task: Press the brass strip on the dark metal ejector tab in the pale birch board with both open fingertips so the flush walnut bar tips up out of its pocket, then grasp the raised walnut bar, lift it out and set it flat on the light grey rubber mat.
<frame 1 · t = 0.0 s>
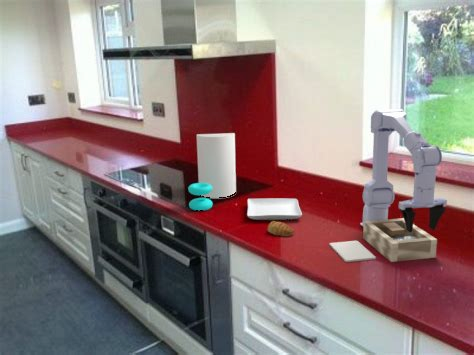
hand: (420, 229, 144), 10 cm above the worktop, tool pointing down, fingers open, 7 cm apart
cylinder: (217, 193, 222), on the worktop
pastry: (280, 233, 172), on the worktop
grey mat: (351, 251, 154), on the worktop
ejector tab: (398, 236, 156), point 4 cm above the worktop, hinge at 0.0°, touching walnut bar
pocket board: (398, 248, 156), on the worktop
salad plate: (273, 214, 193), on the worktop
donuts: (201, 208, 201), on the worktop
walnut bar: (392, 232, 159), point 4 cm above the worktop, touching ejector tab
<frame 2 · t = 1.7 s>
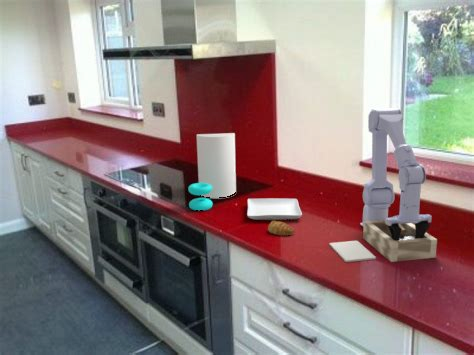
hand: (406, 244, 150), 3 cm above the worktop, tool pointing down
ejector tab: (398, 235, 156), point 4 cm above the worktop, hinge at 11.4°, touching gripper, walnut bar
walnut bar: (393, 229, 159), point 5 cm above the worktop, tilted 11°, touching ejector tab
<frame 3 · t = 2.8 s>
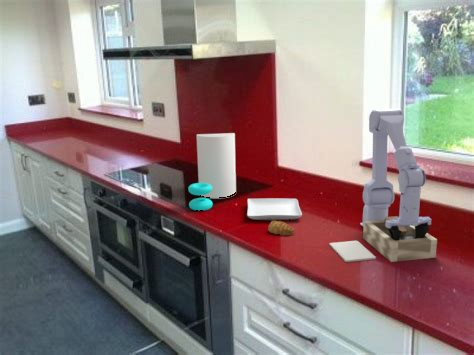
hand: (406, 247, 151), 2 cm above the worktop, tool pointing down
ejector tab: (398, 235, 155), point 4 cm above the worktop, hinge at 24.6°, touching gripper, walnut bar
walnut bar: (394, 228, 158), point 6 cm above the worktop, tilted 25°, touching ejector tab
everything else where it was.
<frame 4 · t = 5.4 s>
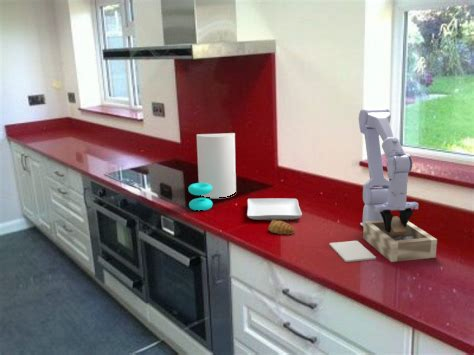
hand: (394, 230, 158), 5 cm above the worktop, tool pointing down, fingers closed on walnut bar, 4 cm apart
ejector tab: (398, 235, 155), point 4 cm above the worktop, hinge at 24.4°, touching walnut bar
walnut bar: (394, 228, 158), point 6 cm above the worktop, tilted 24°, touching ejector tab, gripper
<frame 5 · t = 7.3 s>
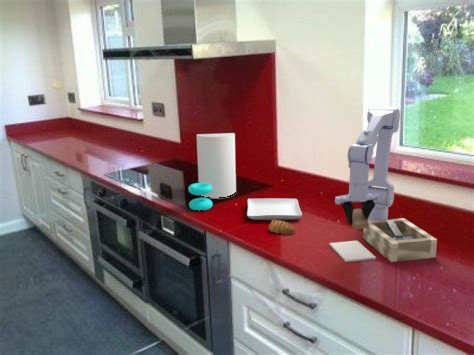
hand: (356, 223, 152), 10 cm above the worktop, tool pointing down, fingers closed on walnut bar, 4 cm apart
ejector tab: (398, 235, 155), point 4 cm above the worktop, hinge at 24.4°
walnut bar: (356, 221, 152), point 10 cm above the worktop, tilted 24°, touching gripper
when the fingers open (2 cm above the worktop, at t = 9.3 s): walnut bar drops 3 cm, resting on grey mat.
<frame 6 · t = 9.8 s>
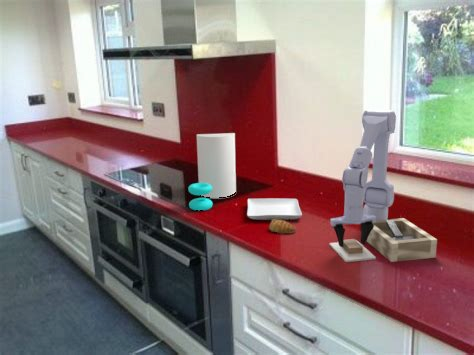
hand: (352, 244, 153), 2 cm above the worktop, tool pointing down, fingers open, 7 cm apart
walnut bar: (351, 249, 154), point 1 cm above the worktop, touching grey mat
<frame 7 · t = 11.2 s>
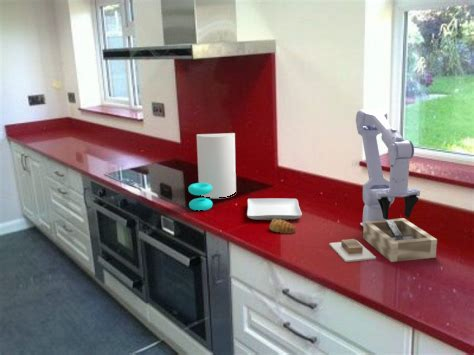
hand: (396, 217, 157), 9 cm above the worktop, tool pointing down, fingers open, 7 cm apart
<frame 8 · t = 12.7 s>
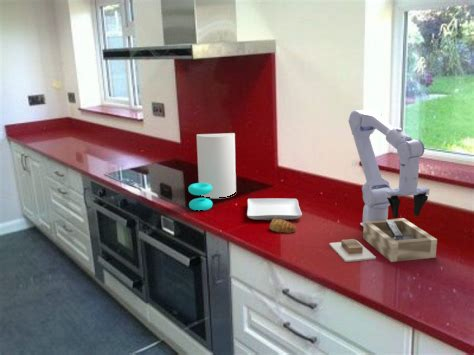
hand: (405, 216, 158), 9 cm above the worktop, tool pointing down, fingers open, 7 cm apart
at the end: walnut bar inside the target area (0.6 cm from its centre), point 0.6 cm above the worktop; walnut bar tilted 0°; the gripper is holding nothing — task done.
